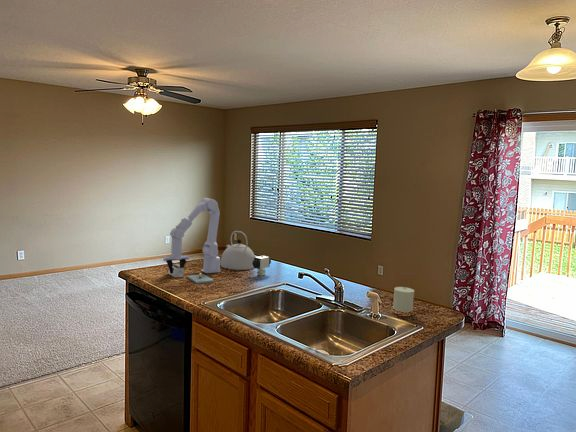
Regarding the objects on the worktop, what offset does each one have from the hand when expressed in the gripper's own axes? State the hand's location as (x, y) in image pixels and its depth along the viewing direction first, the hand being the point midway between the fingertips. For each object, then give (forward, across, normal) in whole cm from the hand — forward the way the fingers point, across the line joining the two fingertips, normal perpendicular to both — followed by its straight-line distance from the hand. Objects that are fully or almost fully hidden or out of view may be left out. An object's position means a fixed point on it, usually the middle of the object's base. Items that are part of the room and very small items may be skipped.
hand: (175, 272), depth 247 cm
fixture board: (+1, +9, -14) cm, 17 cm away
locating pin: (+1, +9, -14) cm, 17 cm away
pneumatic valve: (+2, +46, -17) cm, 49 cm away
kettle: (+2, +44, +11) cm, 46 cm away
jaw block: (+1, 0, 0) cm, 1 cm away
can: (+2, +73, -103) cm, 126 cm away
